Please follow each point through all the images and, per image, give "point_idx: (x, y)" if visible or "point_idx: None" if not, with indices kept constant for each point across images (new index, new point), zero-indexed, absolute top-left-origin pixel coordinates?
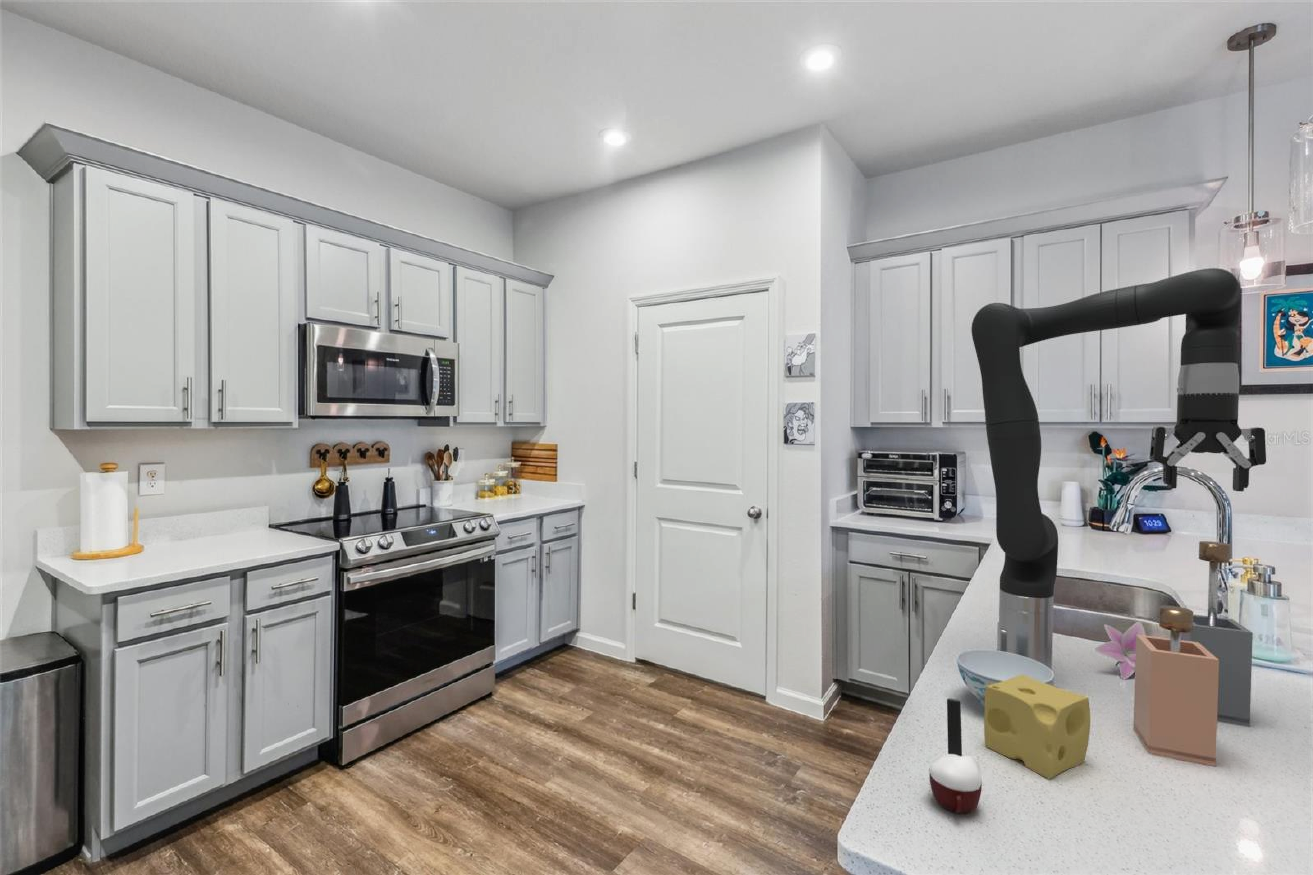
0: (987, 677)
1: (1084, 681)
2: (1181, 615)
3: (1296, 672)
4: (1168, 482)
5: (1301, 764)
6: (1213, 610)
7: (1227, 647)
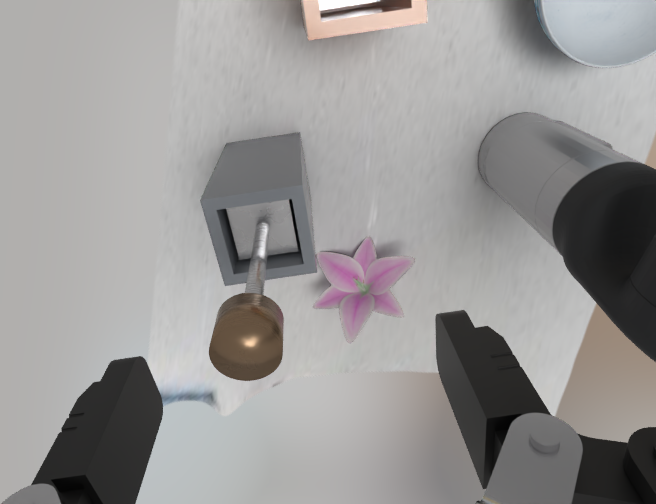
0: None
1: (426, 192)
2: None
3: None
4: (485, 334)
5: (178, 30)
6: (258, 243)
7: (244, 180)
